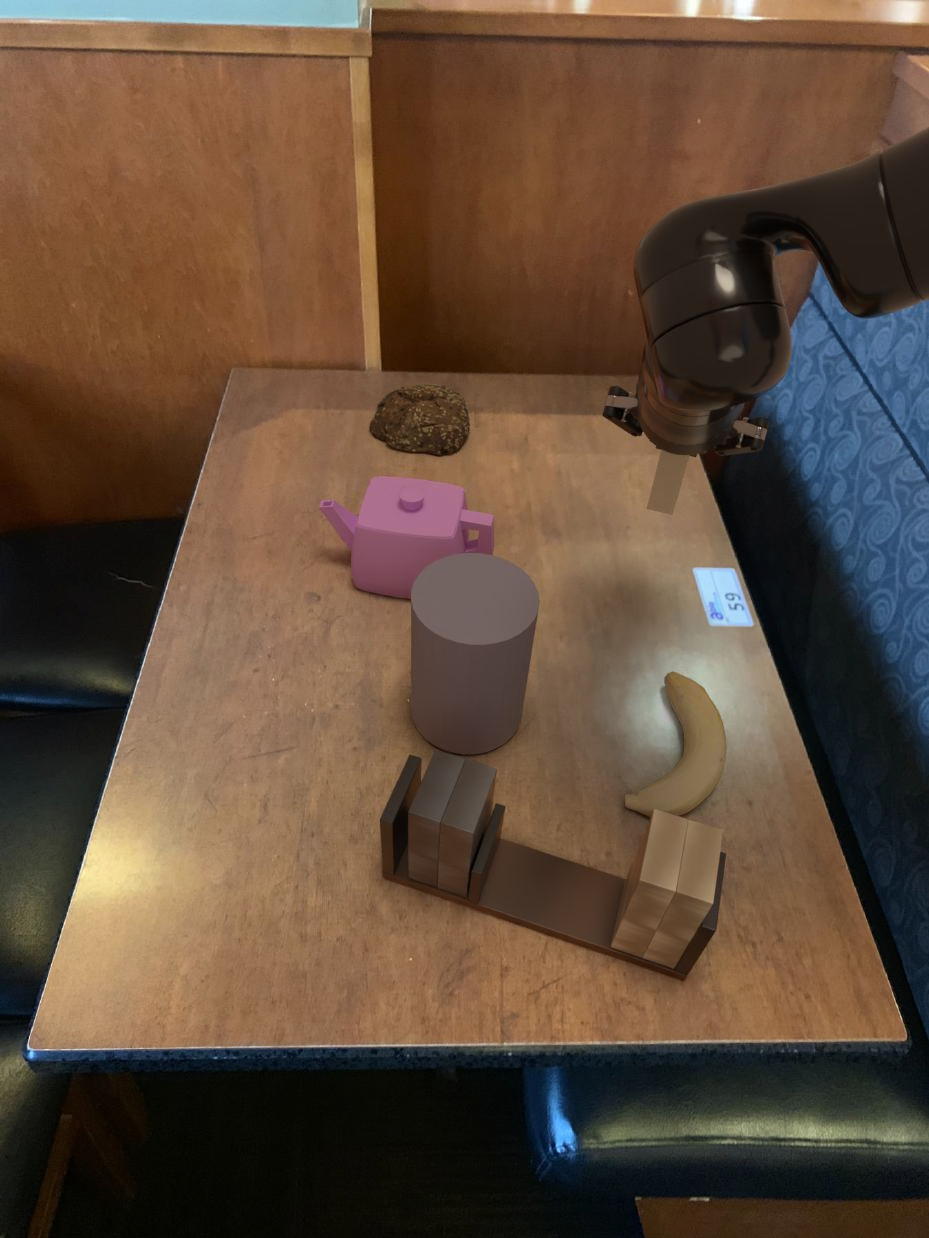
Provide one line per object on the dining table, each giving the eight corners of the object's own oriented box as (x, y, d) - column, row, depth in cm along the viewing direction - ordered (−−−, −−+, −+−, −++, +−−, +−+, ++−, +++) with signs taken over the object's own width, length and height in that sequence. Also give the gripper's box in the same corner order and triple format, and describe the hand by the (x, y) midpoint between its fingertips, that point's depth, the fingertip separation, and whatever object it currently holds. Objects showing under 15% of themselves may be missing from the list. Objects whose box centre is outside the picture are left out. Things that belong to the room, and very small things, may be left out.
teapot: (313, 590, 88) (305, 514, 81) (337, 525, 95) (331, 450, 88) (485, 612, 87) (492, 537, 80) (496, 545, 94) (503, 470, 87)
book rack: (695, 907, 66) (738, 831, 58) (684, 981, 62) (728, 911, 54) (409, 814, 71) (409, 730, 62) (382, 877, 67) (378, 797, 58)
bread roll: (471, 403, 114) (473, 370, 110) (467, 459, 105) (469, 424, 101) (376, 397, 113) (375, 364, 110) (364, 452, 105) (363, 418, 101)
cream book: (681, 480, 81) (710, 378, 73) (672, 515, 77) (702, 411, 70) (656, 474, 82) (683, 372, 74) (646, 509, 78) (673, 405, 70)
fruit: (736, 708, 80) (746, 686, 78) (703, 840, 70) (713, 820, 68) (662, 684, 82) (669, 661, 79) (620, 809, 72) (627, 788, 70)
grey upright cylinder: (404, 751, 75) (403, 638, 64) (417, 662, 82) (418, 548, 71) (520, 761, 75) (539, 650, 64) (523, 671, 82) (540, 558, 71)
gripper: (804, 360, 59) (766, 418, 76) (609, 321, 62) (615, 386, 79) (775, 465, 60) (743, 499, 77) (582, 422, 62) (593, 464, 79)
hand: (678, 442), depth 78 cm, fingers closed on cream book, 2 cm apart
